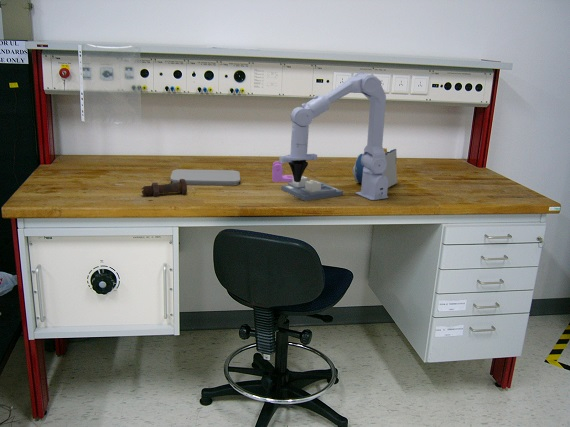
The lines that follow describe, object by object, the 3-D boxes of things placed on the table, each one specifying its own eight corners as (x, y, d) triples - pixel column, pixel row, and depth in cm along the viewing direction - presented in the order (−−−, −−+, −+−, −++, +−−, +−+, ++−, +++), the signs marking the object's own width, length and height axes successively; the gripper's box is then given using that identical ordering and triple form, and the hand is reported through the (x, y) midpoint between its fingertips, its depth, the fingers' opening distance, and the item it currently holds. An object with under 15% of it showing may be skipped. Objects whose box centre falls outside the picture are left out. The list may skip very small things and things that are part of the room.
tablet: (240, 187, 212) (240, 181, 211) (169, 185, 209) (169, 179, 208) (238, 176, 227) (239, 170, 227) (173, 174, 224) (172, 169, 223)
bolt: (142, 200, 195) (185, 196, 201) (144, 197, 191) (188, 193, 196) (140, 184, 196) (182, 180, 202) (141, 180, 192) (185, 176, 197)
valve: (398, 183, 225) (397, 145, 221) (381, 191, 213) (380, 151, 209) (367, 182, 232) (366, 145, 229) (350, 189, 220) (349, 150, 217)
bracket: (272, 181, 221) (273, 164, 218) (272, 178, 226) (272, 160, 224) (305, 182, 221) (306, 165, 219) (304, 179, 227) (305, 162, 224)
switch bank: (342, 195, 207) (343, 188, 206) (304, 200, 198) (304, 194, 197) (318, 184, 219) (318, 178, 218) (281, 189, 210) (281, 183, 209)
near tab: (320, 191, 203) (321, 181, 201) (311, 193, 201) (312, 182, 199) (314, 189, 206) (314, 178, 205) (305, 190, 204) (305, 180, 203)
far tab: (307, 186, 209) (307, 176, 208) (298, 187, 207) (298, 177, 206) (301, 183, 212) (301, 173, 211) (292, 184, 210) (292, 174, 209)
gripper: (310, 139, 201) (307, 176, 205) (275, 142, 193) (273, 180, 197) (321, 143, 195) (318, 181, 200) (286, 146, 188) (284, 185, 192)
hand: (297, 181), depth 198 cm, fingers closed
